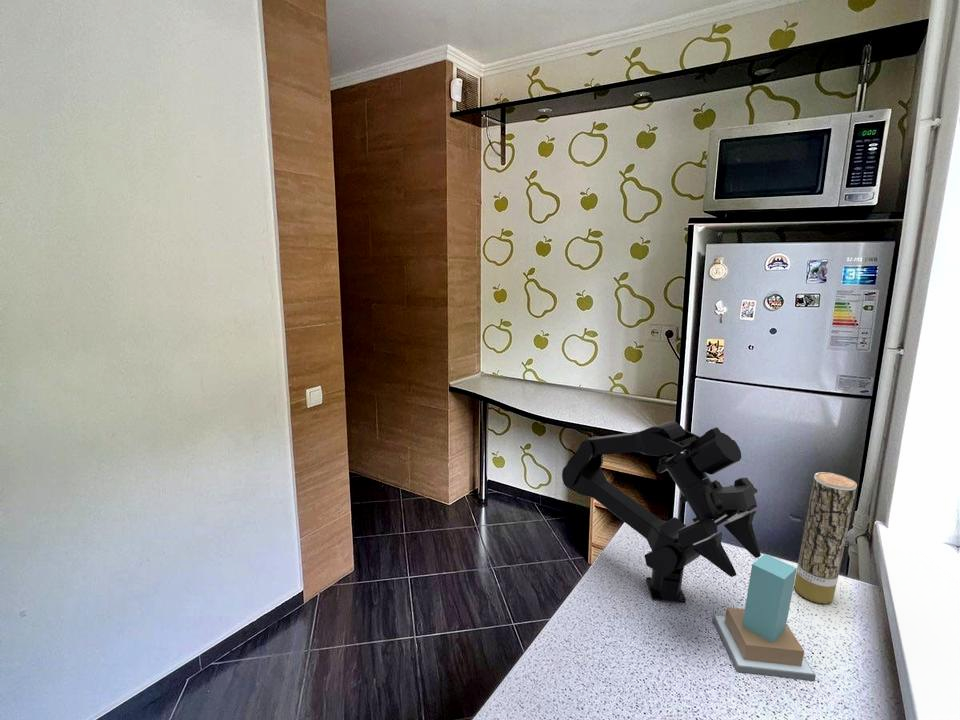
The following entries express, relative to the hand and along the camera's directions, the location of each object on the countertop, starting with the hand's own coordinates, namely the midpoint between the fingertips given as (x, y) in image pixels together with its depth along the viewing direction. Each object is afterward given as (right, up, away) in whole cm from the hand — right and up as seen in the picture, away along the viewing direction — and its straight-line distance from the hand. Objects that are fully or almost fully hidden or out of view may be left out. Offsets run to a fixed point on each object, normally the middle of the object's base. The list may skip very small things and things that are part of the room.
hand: (746, 566), depth 88 cm
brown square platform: (+2, -14, 0) cm, 14 cm away
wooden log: (+21, -12, +14) cm, 28 cm away
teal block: (+2, -10, -1) cm, 11 cm away
